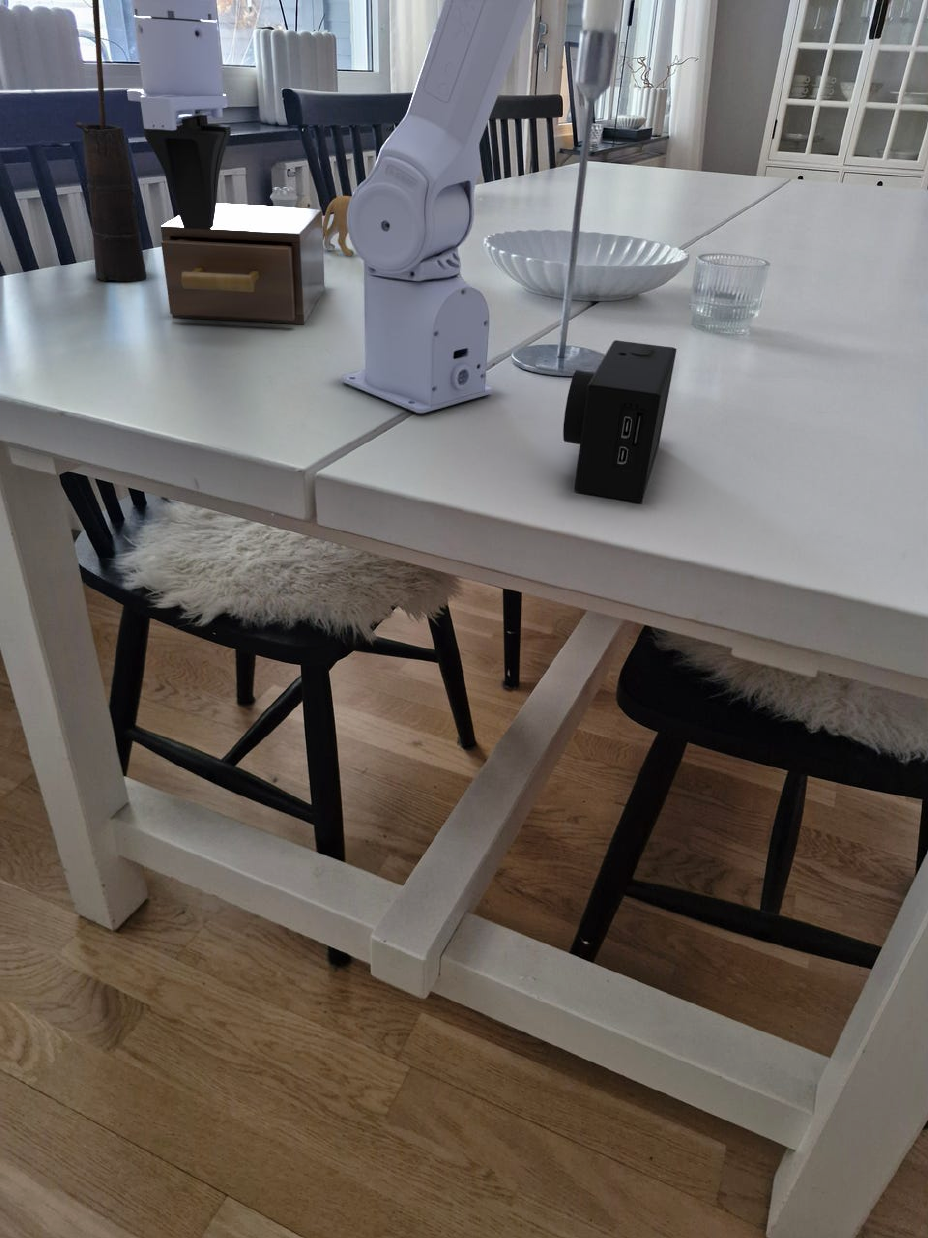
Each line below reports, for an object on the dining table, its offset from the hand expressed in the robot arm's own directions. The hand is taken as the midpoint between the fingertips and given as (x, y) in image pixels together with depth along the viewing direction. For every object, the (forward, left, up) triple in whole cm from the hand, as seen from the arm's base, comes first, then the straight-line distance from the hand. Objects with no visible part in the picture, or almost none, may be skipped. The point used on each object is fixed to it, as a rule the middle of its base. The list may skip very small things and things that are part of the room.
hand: (198, 227), depth 69 cm
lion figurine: (+26, -40, -10) cm, 49 cm away
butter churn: (+29, -6, -10) cm, 31 cm away
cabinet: (+12, -13, -10) cm, 20 cm away
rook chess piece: (+28, -28, -10) cm, 41 cm away
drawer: (+9, -9, -9) cm, 15 cm away
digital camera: (-37, -8, -10) cm, 39 cm away
